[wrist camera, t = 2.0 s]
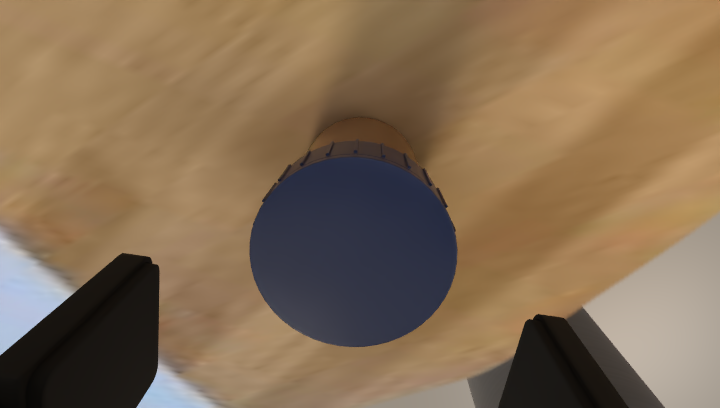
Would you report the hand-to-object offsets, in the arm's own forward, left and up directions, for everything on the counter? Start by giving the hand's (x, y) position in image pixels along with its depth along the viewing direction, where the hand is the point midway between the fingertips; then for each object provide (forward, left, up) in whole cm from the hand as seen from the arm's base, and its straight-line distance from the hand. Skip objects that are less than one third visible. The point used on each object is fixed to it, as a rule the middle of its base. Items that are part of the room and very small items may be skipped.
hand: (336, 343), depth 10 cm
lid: (0, 0, -5) cm, 5 cm away
